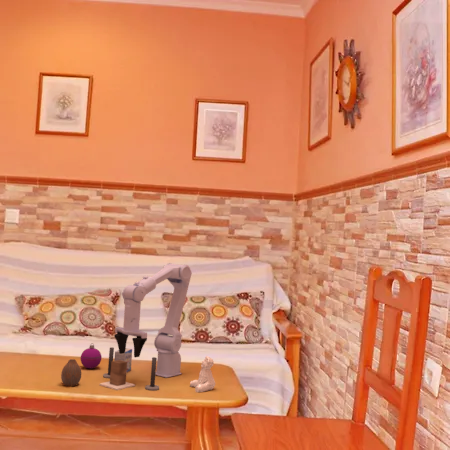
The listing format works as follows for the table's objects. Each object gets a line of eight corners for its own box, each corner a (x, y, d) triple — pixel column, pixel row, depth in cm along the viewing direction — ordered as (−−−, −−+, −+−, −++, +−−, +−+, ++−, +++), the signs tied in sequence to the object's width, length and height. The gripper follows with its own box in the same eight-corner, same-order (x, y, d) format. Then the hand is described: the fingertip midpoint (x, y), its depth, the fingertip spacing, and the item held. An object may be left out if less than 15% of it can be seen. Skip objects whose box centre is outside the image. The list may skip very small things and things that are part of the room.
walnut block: (117, 381, 205) (119, 359, 206) (125, 384, 203) (127, 361, 203) (109, 383, 202) (111, 361, 202) (117, 386, 200) (119, 363, 200)
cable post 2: (151, 386, 205) (154, 355, 205) (162, 389, 202) (164, 358, 202) (142, 388, 201) (144, 357, 201) (152, 391, 198) (154, 360, 198)
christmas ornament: (79, 370, 221) (81, 344, 221) (80, 365, 229) (81, 341, 229) (100, 370, 223) (102, 345, 223) (100, 366, 231) (102, 341, 231)
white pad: (117, 380, 209) (117, 379, 209) (135, 385, 203) (135, 384, 203) (99, 384, 201) (99, 383, 201) (116, 390, 196) (116, 388, 196)
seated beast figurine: (188, 385, 209) (190, 353, 209) (210, 385, 212) (212, 353, 212) (196, 392, 200) (198, 358, 200) (218, 392, 203) (221, 358, 203)
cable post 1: (110, 374, 218) (112, 346, 218) (119, 377, 215) (121, 348, 215) (100, 376, 213) (102, 347, 214) (109, 379, 211) (111, 349, 211)
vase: (62, 387, 194) (64, 362, 195) (58, 382, 200) (60, 358, 201) (82, 386, 198) (84, 361, 198) (78, 381, 204) (79, 357, 204)
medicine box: (123, 374, 219) (125, 352, 219) (113, 373, 220) (114, 351, 220) (131, 370, 227) (132, 348, 227) (120, 369, 228) (122, 347, 228)
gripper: (110, 316, 208) (107, 353, 208) (138, 321, 200) (135, 360, 199) (124, 314, 214) (121, 350, 213) (152, 320, 205) (149, 357, 205)
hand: (129, 355), depth 207 cm, fingers open, 7 cm apart
